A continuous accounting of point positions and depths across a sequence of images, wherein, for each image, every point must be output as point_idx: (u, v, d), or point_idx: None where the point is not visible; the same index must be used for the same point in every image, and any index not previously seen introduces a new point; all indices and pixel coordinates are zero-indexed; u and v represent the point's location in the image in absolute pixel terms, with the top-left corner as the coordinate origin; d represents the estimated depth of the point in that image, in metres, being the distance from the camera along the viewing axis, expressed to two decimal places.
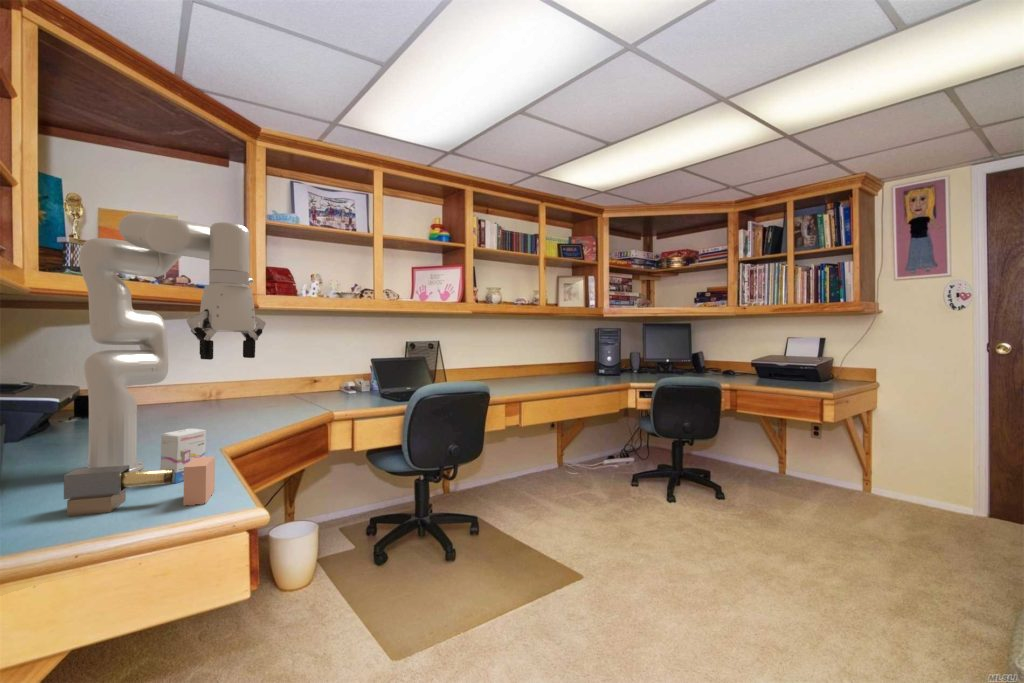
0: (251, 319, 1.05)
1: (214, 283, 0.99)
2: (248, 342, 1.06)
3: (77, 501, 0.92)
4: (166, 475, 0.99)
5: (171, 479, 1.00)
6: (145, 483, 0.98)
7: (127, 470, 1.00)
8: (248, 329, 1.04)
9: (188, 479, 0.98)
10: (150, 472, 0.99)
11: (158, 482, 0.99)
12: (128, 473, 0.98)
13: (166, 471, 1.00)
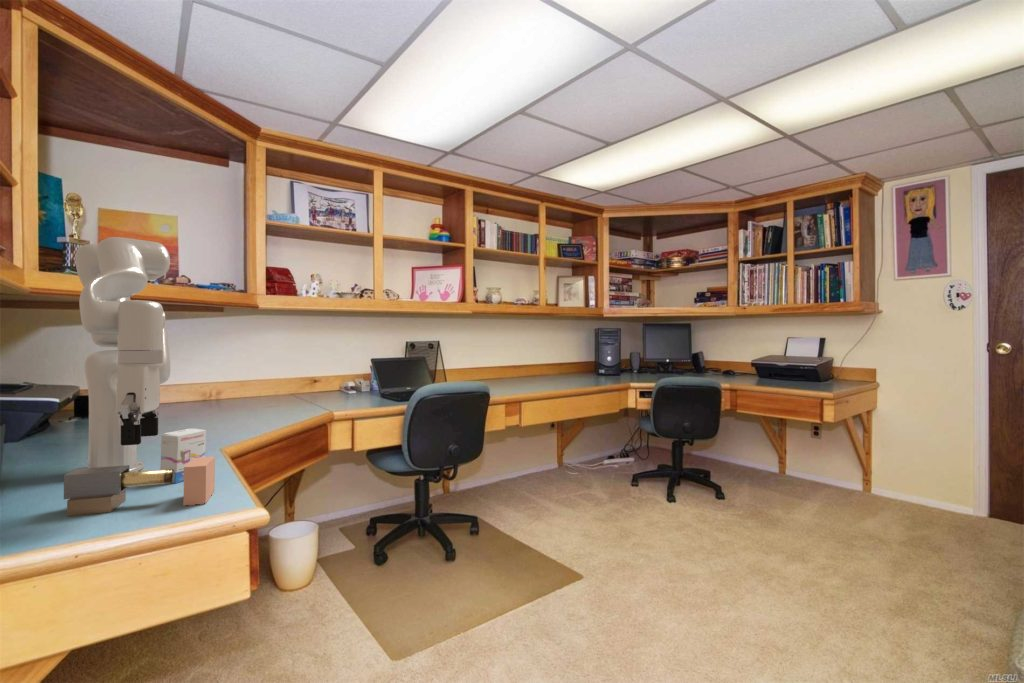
0: (159, 396, 1.03)
1: (136, 364, 0.95)
2: (150, 420, 1.03)
3: (77, 501, 0.92)
4: (166, 475, 0.99)
5: (171, 479, 1.00)
6: (145, 483, 0.98)
7: (127, 470, 1.00)
8: (157, 407, 1.02)
9: (188, 479, 0.98)
10: (150, 472, 0.99)
11: (158, 482, 0.99)
12: (128, 473, 0.98)
13: (166, 471, 1.00)
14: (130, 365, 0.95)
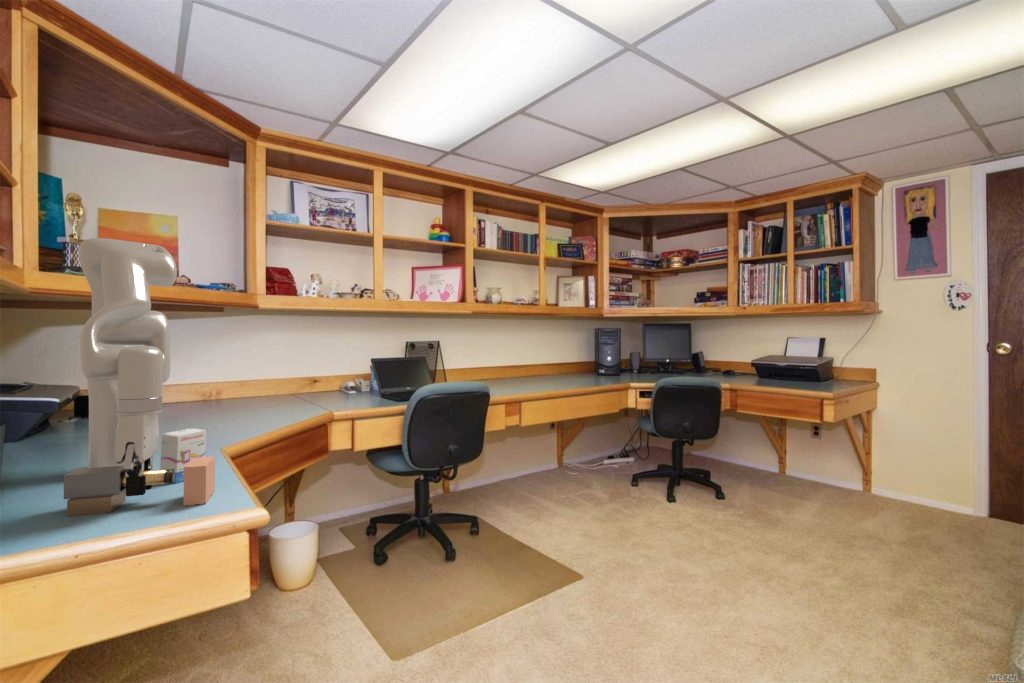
0: (158, 440, 1.03)
1: (136, 413, 0.95)
2: None
3: (77, 501, 0.92)
4: (166, 475, 0.99)
5: (172, 479, 1.00)
6: None
7: None
8: (156, 451, 1.02)
9: (188, 479, 0.98)
10: (150, 472, 0.99)
11: (158, 482, 0.99)
12: None
13: (166, 471, 1.00)
14: (129, 414, 0.95)
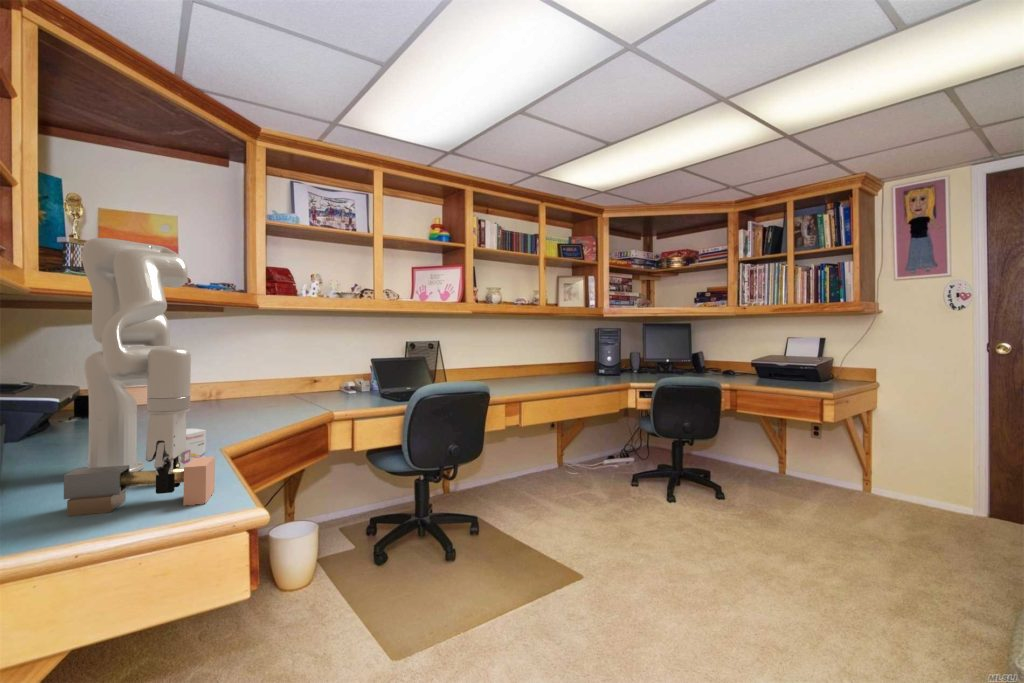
0: (185, 439, 1.05)
1: (166, 412, 0.97)
2: None
3: (77, 501, 0.92)
4: None
5: None
6: None
7: (127, 470, 1.00)
8: (183, 450, 1.04)
9: (188, 479, 0.98)
10: (179, 470, 1.01)
11: None
12: None
13: None
14: (159, 413, 0.97)
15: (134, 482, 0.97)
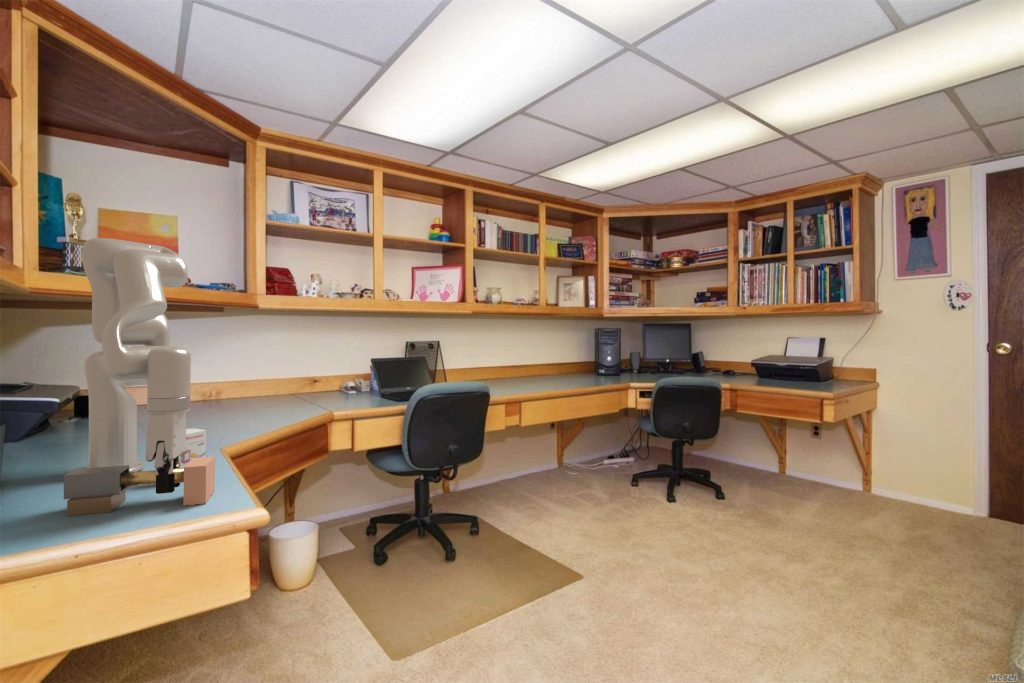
0: (185, 439, 1.05)
1: (166, 412, 0.97)
2: None
3: (77, 501, 0.92)
4: None
5: None
6: None
7: (127, 470, 1.00)
8: (183, 450, 1.04)
9: (188, 479, 0.98)
10: (179, 470, 1.01)
11: None
12: None
13: None
14: (160, 413, 0.97)
15: (134, 482, 0.97)
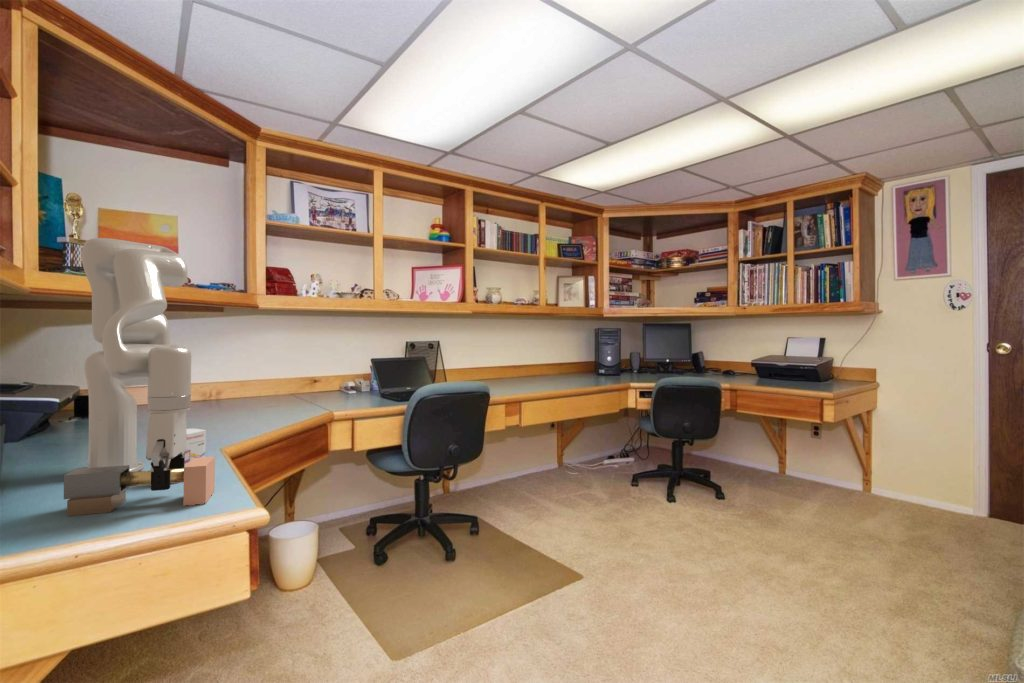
0: (185, 438, 1.05)
1: (166, 411, 0.97)
2: (177, 460, 1.05)
3: (77, 501, 0.92)
4: None
5: None
6: (173, 481, 1.00)
7: (127, 470, 1.00)
8: (184, 448, 1.04)
9: (188, 479, 0.98)
10: (178, 470, 1.01)
11: None
12: None
13: None
14: (160, 412, 0.97)
15: (134, 482, 0.97)
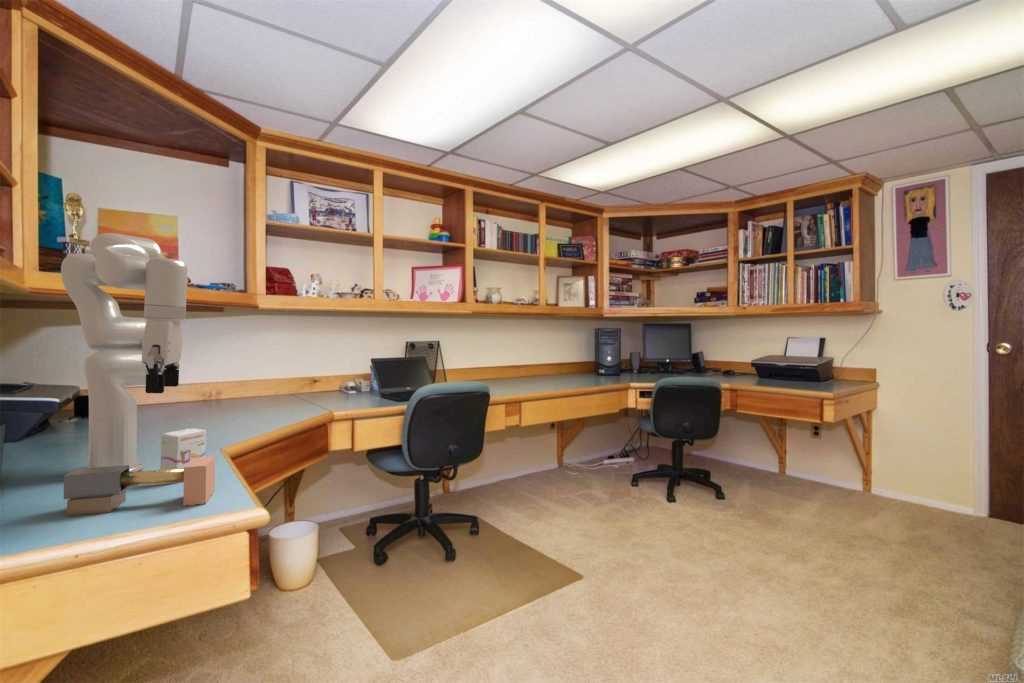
0: (180, 350, 1.09)
1: (162, 319, 1.01)
2: (171, 371, 1.09)
3: (77, 501, 0.92)
4: None
5: None
6: (173, 481, 1.00)
7: (127, 470, 1.00)
8: (178, 360, 1.09)
9: (188, 479, 0.98)
10: (178, 470, 1.01)
11: None
12: (157, 471, 0.99)
13: None
14: (156, 319, 1.01)
15: (134, 482, 0.97)
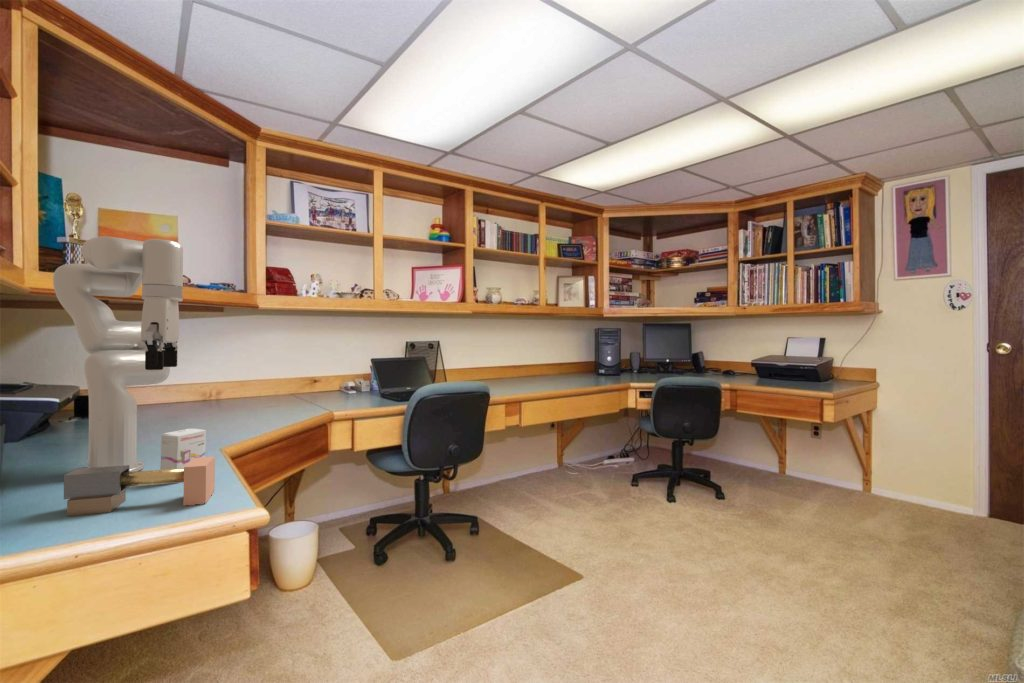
0: (178, 330, 1.12)
1: (159, 297, 1.04)
2: (170, 352, 1.12)
3: (77, 501, 0.92)
4: None
5: None
6: (173, 481, 1.00)
7: (127, 470, 1.00)
8: (176, 340, 1.11)
9: (188, 479, 0.98)
10: (178, 470, 1.01)
11: None
12: (157, 471, 0.99)
13: None
14: (154, 298, 1.04)
15: (134, 482, 0.97)
